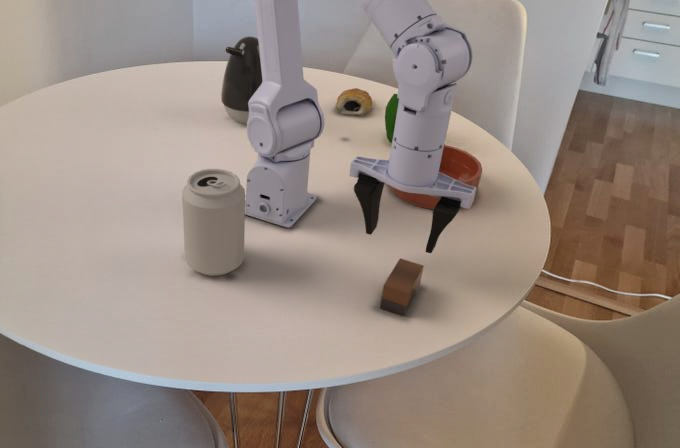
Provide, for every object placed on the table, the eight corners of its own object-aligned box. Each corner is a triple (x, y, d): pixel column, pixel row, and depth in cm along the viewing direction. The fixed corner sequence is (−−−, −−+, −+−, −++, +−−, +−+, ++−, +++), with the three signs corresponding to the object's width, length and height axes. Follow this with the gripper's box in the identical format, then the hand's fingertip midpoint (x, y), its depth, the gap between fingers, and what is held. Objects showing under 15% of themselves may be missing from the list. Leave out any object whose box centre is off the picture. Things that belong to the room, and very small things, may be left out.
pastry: (342, 96, 130) (344, 78, 128) (375, 101, 129) (377, 83, 127) (333, 114, 123) (335, 95, 121) (369, 119, 121) (371, 100, 119)
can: (213, 238, 87) (212, 158, 80) (256, 260, 83) (258, 178, 76) (172, 262, 82) (167, 180, 75) (215, 287, 78) (214, 203, 71)
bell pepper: (416, 130, 118) (425, 78, 112) (435, 150, 111) (445, 95, 106) (373, 133, 116) (380, 79, 111) (389, 153, 110) (397, 98, 104)
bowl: (464, 219, 93) (470, 192, 90) (377, 195, 98) (381, 168, 95) (484, 180, 103) (490, 155, 100) (404, 160, 108) (408, 136, 105)
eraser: (404, 316, 75) (408, 293, 73) (379, 308, 76) (383, 284, 74) (419, 288, 79) (423, 265, 77) (395, 280, 80) (399, 258, 78)
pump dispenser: (209, 116, 120) (207, 35, 111) (251, 103, 126) (253, 25, 117) (245, 135, 113) (246, 50, 105) (287, 120, 119) (291, 39, 111)
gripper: (491, 142, 72) (466, 240, 80) (370, 113, 78) (357, 208, 85) (477, 167, 67) (451, 270, 75) (348, 134, 73) (336, 234, 80)
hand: (400, 239), depth 80 cm, fingers open, 7 cm apart
